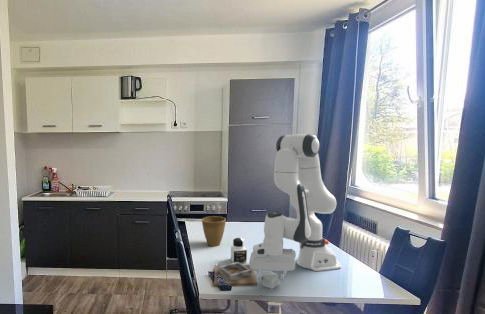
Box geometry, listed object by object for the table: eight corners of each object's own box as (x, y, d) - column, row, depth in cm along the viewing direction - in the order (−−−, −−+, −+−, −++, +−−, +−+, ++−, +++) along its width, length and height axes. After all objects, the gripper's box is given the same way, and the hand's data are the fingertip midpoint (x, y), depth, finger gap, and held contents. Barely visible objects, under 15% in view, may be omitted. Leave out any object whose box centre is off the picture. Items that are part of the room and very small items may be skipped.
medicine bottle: (233, 264, 152) (234, 241, 151) (230, 258, 159) (230, 237, 158) (246, 262, 154) (247, 240, 153) (243, 257, 161) (243, 236, 160)
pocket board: (252, 267, 148) (252, 260, 148) (256, 285, 129) (257, 277, 129) (214, 267, 147) (215, 260, 147) (214, 286, 128) (214, 278, 128)
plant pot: (227, 240, 188) (227, 216, 187) (223, 249, 173) (223, 222, 172) (204, 239, 189) (204, 215, 188) (198, 247, 174) (199, 221, 174)
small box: (268, 280, 134) (269, 270, 134) (279, 285, 130) (279, 274, 130) (261, 285, 130) (261, 274, 129) (272, 289, 126) (272, 278, 126)
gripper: (294, 246, 133) (292, 276, 133) (249, 245, 131) (248, 276, 132) (297, 251, 127) (296, 282, 127) (251, 250, 125) (249, 282, 125)
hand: (271, 279), depth 129 cm, fingers open, 8 cm apart
